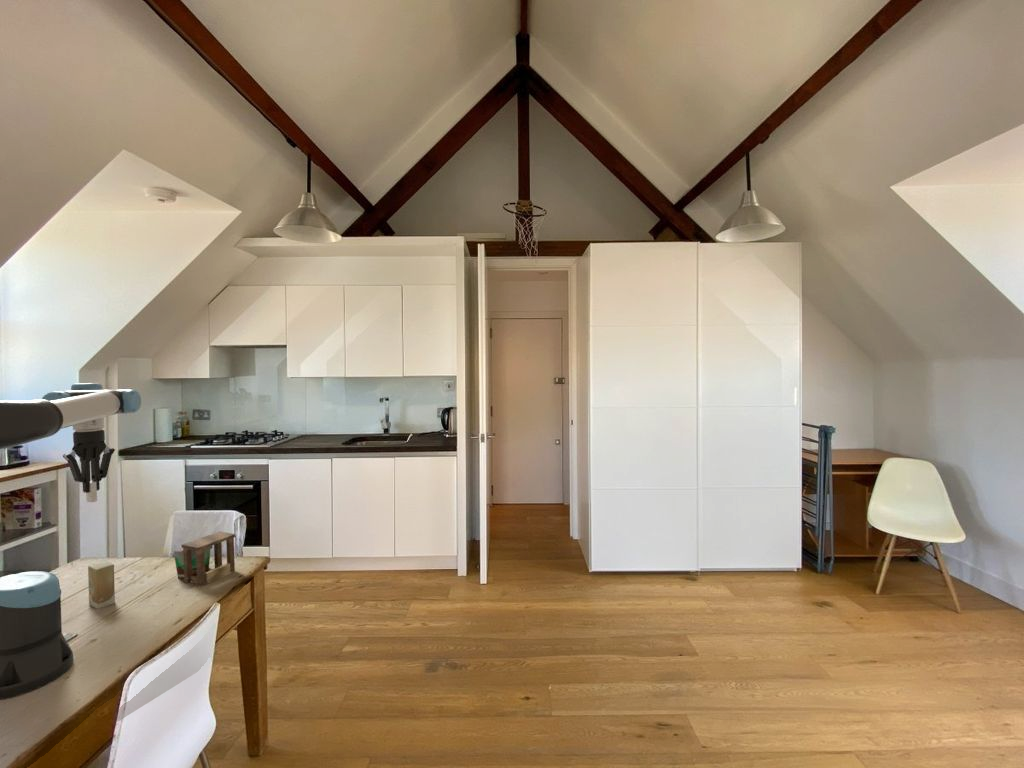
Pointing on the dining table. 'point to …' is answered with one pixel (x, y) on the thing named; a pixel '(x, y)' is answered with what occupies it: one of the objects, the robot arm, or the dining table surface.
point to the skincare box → (101, 584)
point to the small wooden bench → (200, 558)
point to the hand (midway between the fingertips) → (91, 501)
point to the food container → (180, 562)
